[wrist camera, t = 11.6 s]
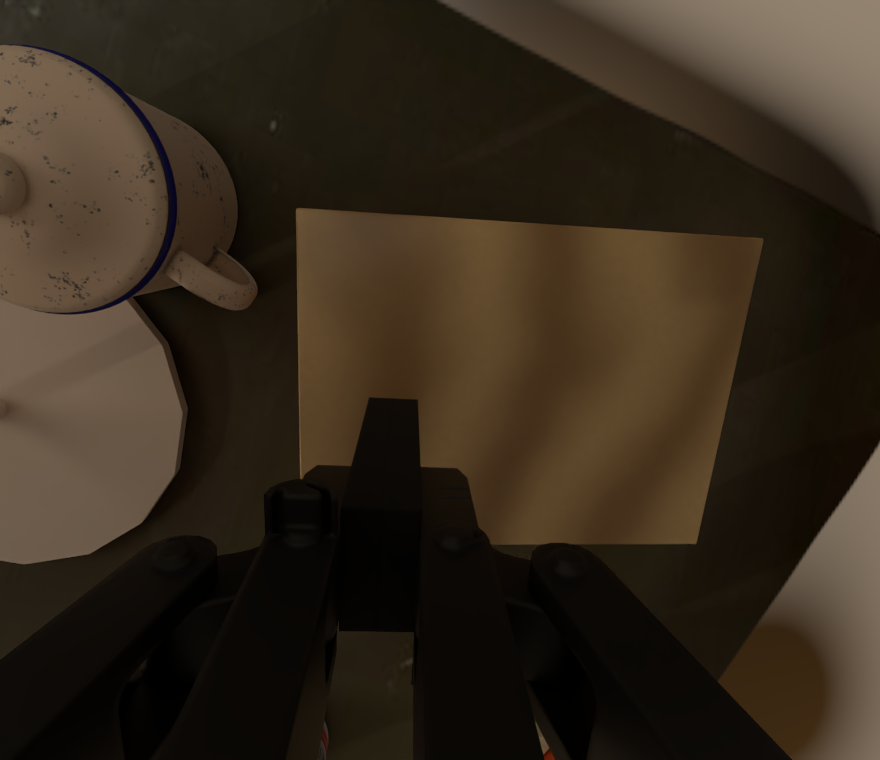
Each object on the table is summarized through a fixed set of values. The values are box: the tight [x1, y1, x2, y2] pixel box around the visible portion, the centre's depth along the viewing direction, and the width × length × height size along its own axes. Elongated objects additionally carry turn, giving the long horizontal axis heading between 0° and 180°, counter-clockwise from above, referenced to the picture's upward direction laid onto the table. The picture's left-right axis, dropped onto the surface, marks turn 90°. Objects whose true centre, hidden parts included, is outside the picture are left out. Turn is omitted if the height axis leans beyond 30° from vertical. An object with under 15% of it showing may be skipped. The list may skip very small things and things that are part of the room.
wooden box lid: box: [296, 208, 763, 545], centre depth 20 cm, size 16×13×1 cm
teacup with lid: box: [0, 45, 258, 315], centre depth 21 cm, size 12×9×12 cm
